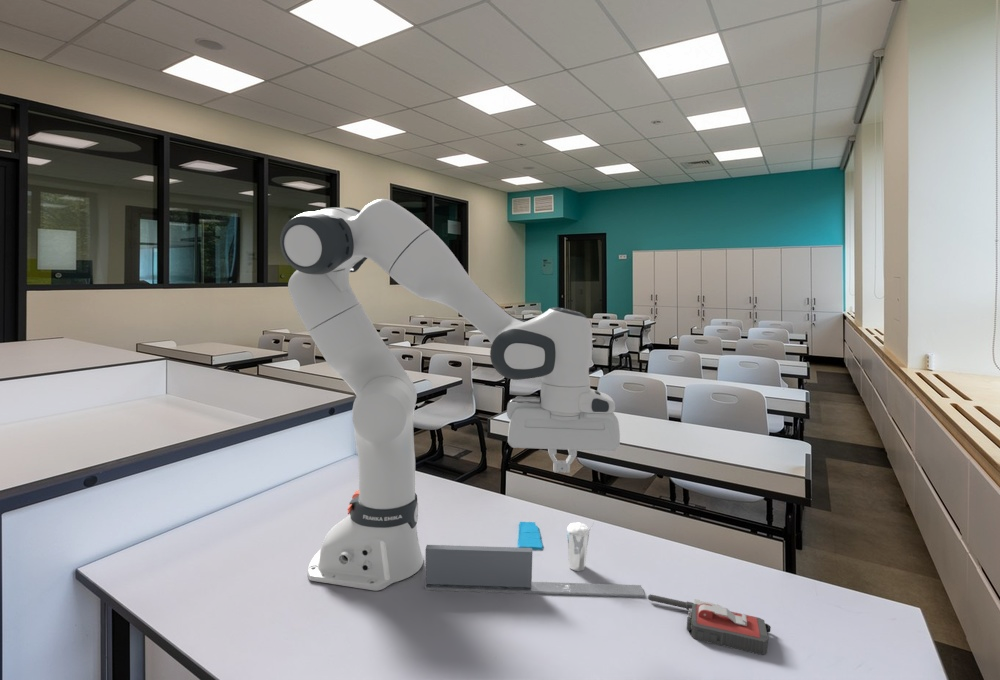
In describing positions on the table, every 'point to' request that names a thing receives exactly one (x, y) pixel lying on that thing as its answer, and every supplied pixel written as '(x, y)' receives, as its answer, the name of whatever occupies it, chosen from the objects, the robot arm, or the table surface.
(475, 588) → the rail
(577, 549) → the milkshake
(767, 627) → the walkie-talkie
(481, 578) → the screen
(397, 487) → the robot arm
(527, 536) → the sponge
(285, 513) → the table surface
